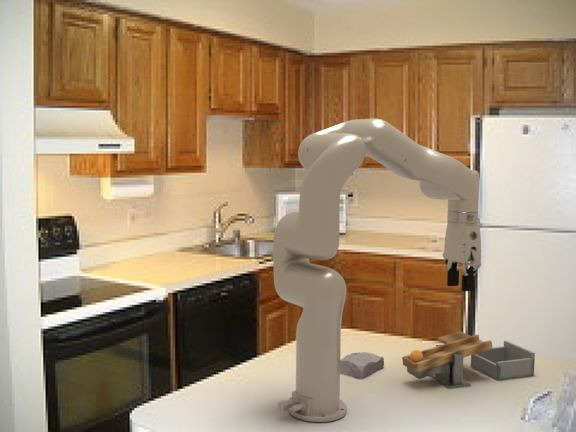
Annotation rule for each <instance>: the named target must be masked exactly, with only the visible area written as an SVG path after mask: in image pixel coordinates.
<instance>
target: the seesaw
mask: <svg viewBox="0 0 576 432" xmlns="http://www.w3.org/2000/svg"><path fill="white" fill-rule="evenodd" d="M437 341H438V342H440V343H442V344H443V345H442V344H439V345H440V346H437V347H436V346H435V347H434V346H433V347H431V348H427V349H423V350H421V352H422V354H423V360H422V361H420V362H417V363H415V362H414V361H412V360H411V359H410V354H408V355H404V356H402V357H401V359H402V360H401V361H402V365H403V366H405V367H406V370H407V371H406V372H407V373H408V374H410V375H412V376H413V377H415V378H416V379H418V380H423V379H425V378H428V377H429V376H432V375H435V374H438V373H441V369H440V365H442V364H445V363H448V362H452V361H453V354H458V353H462V354H463V359H464V358H467V357H471V355H474V354H477V353H480V352H483V351H487V350H490V349H493V342H492V340H490V339H488V340H485V341H483V340H481V339H480V335H479V334H473V335H470V334H467V333H465V332H464V331H461V330H460V331H459V330H458V331H456V332H452V333H449V334H446V335H442V336H439V337H437Z"/></svg>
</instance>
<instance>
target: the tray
mask: <svg viewBox="0 0 576 432" xmlns="http://www.w3.org/2000/svg"><path fill="white" fill-rule="evenodd" d="M492 348H493V349H490V350H487V351H483V352H480V353H477V354H474V355H471V356H470V367H471V368H472V369H475V370H477V372H480V373H482V374H484V375H486V376H488V377H490V378H492V379H494V380H495V381H498V382H499V381H504V380H513V379H520V378H521V379H522V378H528V377H534V376H535V359H536V353H535V352H534V351H532V350H529V349H527V348H525V347H522V346H519V345H517V344H515V343H513V342H510V341H509V340H503V346H495V347H493V346H492Z"/></svg>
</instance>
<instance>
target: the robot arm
mask: <svg viewBox="0 0 576 432" xmlns="http://www.w3.org/2000/svg"><path fill="white" fill-rule="evenodd" d="M297 156H298V157H297V158H298V161H299V163H300V164H301V166H302V167H303V168H304V169H305V170H307V172H306V174H305V175H304V177H303V179H302V181H301V184H300V189H299V202H298V203H299V204H298V211H294V212H293V211H292V212H289V213H286V214H285V215H283V216H282V217H281V218H280V219H279V220H278V222H277V224H276V226H275V229H274V232H273V237H272V238H273V242H272V243H273V244H272V245H273V247H272V249H273V250H272V251H273V254H272V255H273V256H272V257H273V259H272V260H273V261H272V262H273V284H274V289H275V291H276V293H277V295H278V297H280V299H282V300H283V301H285V302H287V303H290V304H293V305H296V306H299V307H301V308H302V309H303V310H302V313H301V315H300V317H299V319H298V322H297V326H296V329H295V330H296V331H295V332H296V335H295V339H296V340H295V343H296V345H295V349H296V350H295V352H296V353H295V390H293V391H292V392H291V397H289V399H284V400H282V401H281V400H280V401H279V402H277V408H278V410H279V411H280V412H283V411H287V410H288V412H289V413H290V415H291V416H293V417H295V418H296V419H298V420H302V421H306V422H311V423H327V422H333V421H337V420H340V419H342V418H344V417H345V416H346V415H347V412H348V411H347V410H348V405H347V404H346V403H345V402H344V401H343V400H341V397H340V395H341V393H340V392H341V374H340V360H341V345H342V344H341V339H342V337H341V336H342V319H343V313H344V312H343V311H344V306H345V303H346V297H347V285H346V284H347V283H346V281H345V279H344V277H343V276H342V275H341V274H340V273H339V272H338V271H336V270H334V269H333V268H330V267H327V266H324V265H319V264H315V263H311V262H310V260H315V261H326V260H330V259H332V258H333V257H335V256H336V254H337V253H338V250H339V247H340V235H341V234H340V231H341V230H340V228H341V227H340V222H341V221H340V220H341V219H340V218H341V217H340V205H341V193H342V190H343V187H344V185H346V182H347V181H348V179H349V178H350V177H351V176H352V175H353V173H355V171H357V169H359V167H360V166H362V164H363V162H364V160H365V157H368V158H370V159H371V160H372V159H373V160H374V161H375V162H377V163H379V164H381V165H382V166H383V167H385V168H386V169H388V170H390V171H391V172H392V173H394V174H395V175H397V176H399V177H402V178H406V179H408V180H413V181H417V182H419V188H420V191H421V193H422V194H423V196H425V197H427V198H429V199H432V200H433V199H434V200H443V201H444V200H447V217H446V220H447V222H446V223H447V224H446V228H445V229H446V230H445V236H444V247H443V249H444V250H443V253H442V258H443V259H444V262H445V265H446V267H445V269H446V271H447V273H446V274H447V277H446V279H447V280H446V281H447V282H446V285H447V287H458V286H459V283H460V270H458V269H459V265H460V264H461V265H462V273H463V275H461V291H462V292H472V291H474V290H475V289H474V286H475V285H474V284H475V276H476V274H477V273H476V272H478V269H480V267H481V266H482V262H481V261H482V239H481V238H482V237H481V228H480V225H479V223H478V222H479V203H480V202H479V198H480V173H479V172H478V171H477V170H475V169H470V168H469V167H468V166H467V165H465V164H464V163H462V162H461V161H460V160H458V159H457V158H454V157H452V156H450V155H447V154H445V153H442V152H439V151H437V150H434V149H433V148H430V147H427V146H423V145H421V144H419V143H417V142H416V141H415V140H413V139H412V138H410V137H409V136H408V135H406V134H405V133H403V132H402V131H400V129H398V128H397V127H395V126H393V125H392V124H391V123H389V122H387V121H386V120H384V119H381V118H362V119H361V118H360V119H350V120H347V121H344V122H339V123H338V124H335V125H333V126H330V127H327V128H325V129H321V130H320V131H316V132H313V133H311V134H309V135H307V136H306V137H305V138H304V139H303V140H302V141H301V143H300V145H299V147H298V152H297Z"/></svg>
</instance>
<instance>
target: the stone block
mask: <svg viewBox="0 0 576 432" xmlns="http://www.w3.org/2000/svg"><path fill="white" fill-rule="evenodd" d="M384 366H385V358H384V357H383V356H379V355H377V354H375V353H372V352H367V351H365V352H364V351H362V352H361V351H359V352H352V353H350V354H348V355H345V356H343V357H342V358H340V375H341V376H348V377H352V378H356V379H361V380H363V379H366V378H367V377H369V376H371V375H373V374H375V373H376V371H377V372H378V370H379V371H381V370H382V369H383V368H384ZM380 369H381V370H380Z"/></svg>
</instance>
